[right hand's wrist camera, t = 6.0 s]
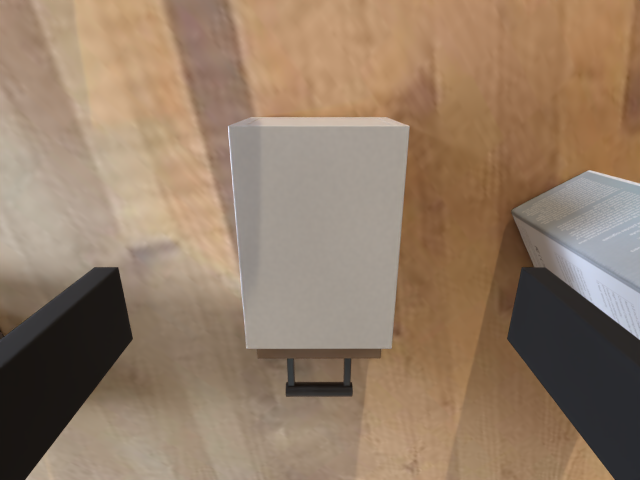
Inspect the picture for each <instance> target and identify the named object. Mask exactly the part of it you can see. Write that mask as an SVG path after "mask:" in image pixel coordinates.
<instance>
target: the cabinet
mask: <svg viewBox="0 0 640 480" xmlns="http://www.w3.org/2000/svg"><path fill="white" fill-rule="evenodd" d="M409 129H410V126H408V125H405V124H403V123H400V122H397V121H395V120H392V119H390V118H387V117H251V118H248V119H245V120H242V121H240V122H237V123H235V124H232V125H229V126H228V132H229V144H230V156H231V168H232V180H233V192H234V204H235V216H236V228H237V240H238V252H239V264H240V276H241V288H242V300H243V312H244V324H245V336H246V348H247V349H391V348H392V338H393V325H394V313H395V301H396V288H397V276H398V264H399V252H400V239H401V227H402V215H403V202H404V190H405V178H406V165H407V153H408V141H409Z"/></svg>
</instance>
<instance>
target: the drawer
mask: <svg viewBox="0 0 640 480" xmlns="http://www.w3.org/2000/svg"><path fill="white" fill-rule="evenodd" d="M257 358H287V370H288V382H287V383H286V397H352V394H353V388H352V382H350V379H351V358H381V349H257ZM294 358H344V380H343V382H295V367H294Z"/></svg>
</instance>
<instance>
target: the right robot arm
mask: <svg viewBox="0 0 640 480" xmlns="http://www.w3.org/2000/svg"><path fill="white" fill-rule="evenodd" d="M132 339H133V337H132V332H131V328H130V323H129V318H128V313H127V308H126V303H125V298H124V293H123V289H122V284H121V279H120V274H119V269H118V267H94V268H93V269H92V270H91V271H89V272H88V273H87V274H85V275H84V276H83V277H81V278H80V279H79V280H77V281H76V282H75V283H74V284H72V285H71V286H70V287H68V288H67V289H66V290H64V291H63V292H62V293H61V294H59V295H58V296H57V297H55V298H54V299H53V300H51V301H50V302H49V303H48V304H46V305H45V306H44V307H42V308H41V309H40V310H38V311H37V312H36V313H34V314H33V315H32V316H31V317H29V318H28V319H27V320H25V321H24V322H23V323H21V324H20V325H19V326H18V327H16V328H15V329H14V330H12V331H11V332H10V333H8V334H7V335H6V336H5V337H3V338H2V339H1V340H0V480H25V479H26V478H27V476H28V475H29V474H30V473H31V471H32V470H33V469H34V467H35V466H36V465H37V463H38V462H39V461H40V460H41V458H42V457H43V456H44V454H45V453H46V452H47V450H48V449H49V448H50V446H51V445H52V444H53V443H54V441H55V440H56V439H57V437H58V436H59V435H60V433H61V432H62V431H63V429H64V428H65V427H66V426H67V424H68V423H69V422H70V420H71V419H72V418H73V416H74V415H75V414H76V412H77V411H78V410H79V409H80V407H81V406H82V405H83V403H84V402H85V401H86V399H87V398H88V397H89V395H90V394H91V393H92V392H93V390H94V389H95V388H96V386H97V385H98V384H99V382H100V381H101V380H102V379H103V377H104V376H105V375H106V373H107V372H108V371H109V369H110V368H111V367H112V365H113V364H114V363H115V362H116V360H117V359H118V358H119V356H120V355H121V354H122V352H123V351H124V350H125V348H126V347H127V346H128V345H129V343H130V342H131V341H132ZM507 339H508V341H509V342H510V343H511V345H512V346H513V347H514V348H515V350H516V351H517V352H518V354H519V355H520V356H521V358H522V359H523V360H524V362H525V363H526V364H527V365H528V367H529V368H530V369H531V371H532V372H533V373H534V375H535V376H536V377H537V379H538V380H539V381H540V382H541V384H542V385H543V386H544V388H545V389H546V390H547V392H548V393H549V394H550V396H551V397H552V398H553V399H554V401H555V402H556V403H557V405H558V406H559V407H560V409H561V410H562V411H563V412H564V414H565V415H566V416H567V418H568V419H569V420H570V422H571V423H572V424H573V426H574V427H575V428H576V429H577V431H578V432H579V433H580V435H581V436H582V437H583V439H584V440H585V441H586V443H587V444H588V445H589V446H590V448H591V449H592V450H593V452H594V453H595V454H596V456H597V457H598V458H599V460H600V461H601V462H602V463H603V465H604V466H605V467H606V469H607V470H608V471H609V473H610V474H611V475H612V476H613V478H614V479H615V480H640V340H639V339H638V338H637V337H635V336H634V335H633V334H632V333H630V332H629V331H628V330H626V329H625V328H624V327H622V326H621V325H620V324H619V323H617V322H616V321H615V320H613V319H612V318H611V317H609V316H608V315H607V314H606V313H604V312H603V311H602V310H600V309H599V308H598V307H596V306H595V305H594V304H592V303H591V302H590V301H589V300H587V299H586V298H585V297H583V296H582V295H581V294H579V293H578V292H577V291H576V290H574V289H573V288H572V287H570V286H569V285H568V284H566V283H565V282H564V281H563V280H561V279H560V278H559V277H557V276H556V275H555V274H553V273H552V272H551V271H549V270H548V269H547V268H546V267H522V269H521V274H520V279H519V284H518V289H517V293H516V298H515V303H514V308H513V313H512V318H511V323H510V328H509V332H508V337H507Z"/></svg>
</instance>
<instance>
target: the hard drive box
mask: <svg viewBox="0 0 640 480" xmlns="http://www.w3.org/2000/svg"><path fill="white" fill-rule="evenodd" d="M511 213H512V215H513V218H514V220H515V222H516V225H517V227H518V229H519V231H520V234H521V237H522V239H523V242H524V244H525V246H526V249H527V251H528V253H529V255H530V258H531V260H532V262H533V265H534V267H546V268H547V269H548V270H549V271H551V272H552V273H553V274H555V275H556V276H557V277H559V278H560V279H561V280H563V281H564V282H565V283H566V284H568V285H569V286H570V287H572V288H573V289H574V290H576V291H577V292H578V293H579V294H581V295H582V296H583V297H585V298H586V299H587V300H589V301H590V302H591V303H592V304H594V305H595V306H596V307H598V308H599V309H600V310H602V311H603V312H604V313H606V314H607V315H608V316H609V317H611V318H612V319H613V320H615V321H616V322H617V323H619V324H620V325H621V326H622V327H624V328H625V329H626V330H628V331H629V332H630V333H632V334H633V335H634V336H635V337H637V338H638V339H639V340H640V183H636V182H632V181H629V180H625V179H621V178H618V177H613V176H610V175H606V174H602V173H598V172H595V171H591V170H589V171H586V172H584V173H582V174H580V175H578V176H576V177H574V178H572V179H570V180H568V181H566V182H564V183H562V184H560V185H558V186H556V187H555V188H553V189H551V190H549V191H547V192H545V193H543V194H541V195H539V196H537V197H535V198H533V199H531V200H529V201H527V202H525V203H524V204H522V205H520V206H518V207H516V208H514V209H512V211H511Z"/></svg>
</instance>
